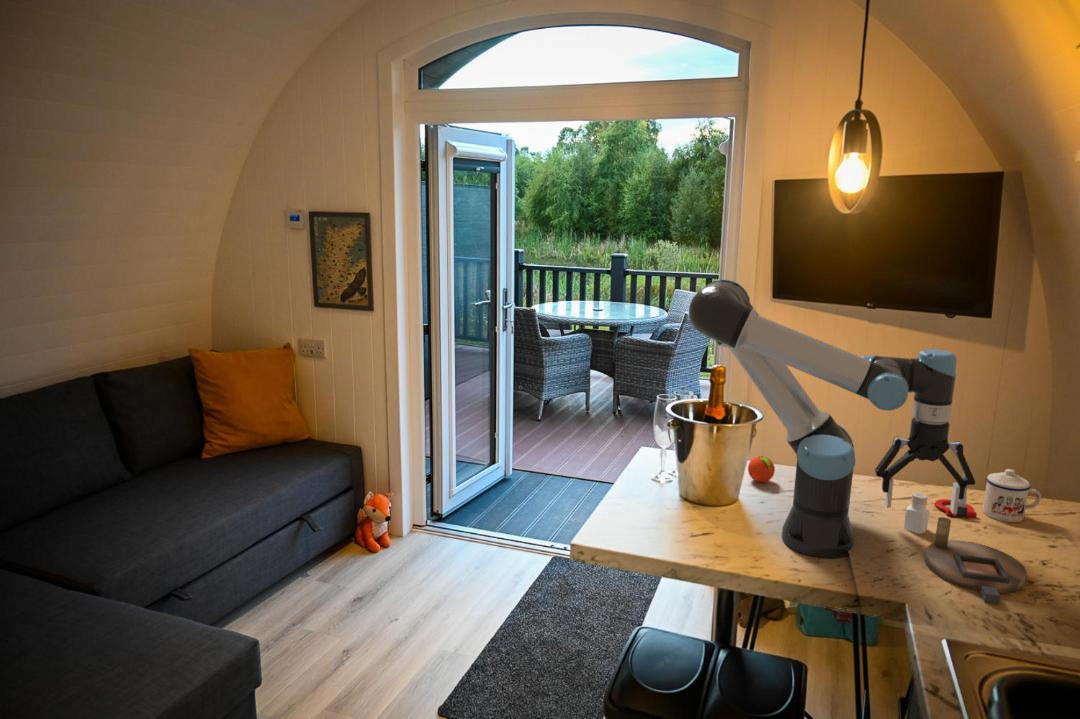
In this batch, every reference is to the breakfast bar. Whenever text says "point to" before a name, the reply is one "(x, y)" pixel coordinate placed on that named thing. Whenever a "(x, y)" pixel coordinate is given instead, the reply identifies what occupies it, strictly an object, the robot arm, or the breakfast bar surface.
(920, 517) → the pepper shaker
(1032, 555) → the breakfast bar surface
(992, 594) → the charcoal grey block
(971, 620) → the breakfast bar surface
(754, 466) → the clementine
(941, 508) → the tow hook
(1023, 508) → the teacup with lid
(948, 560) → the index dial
